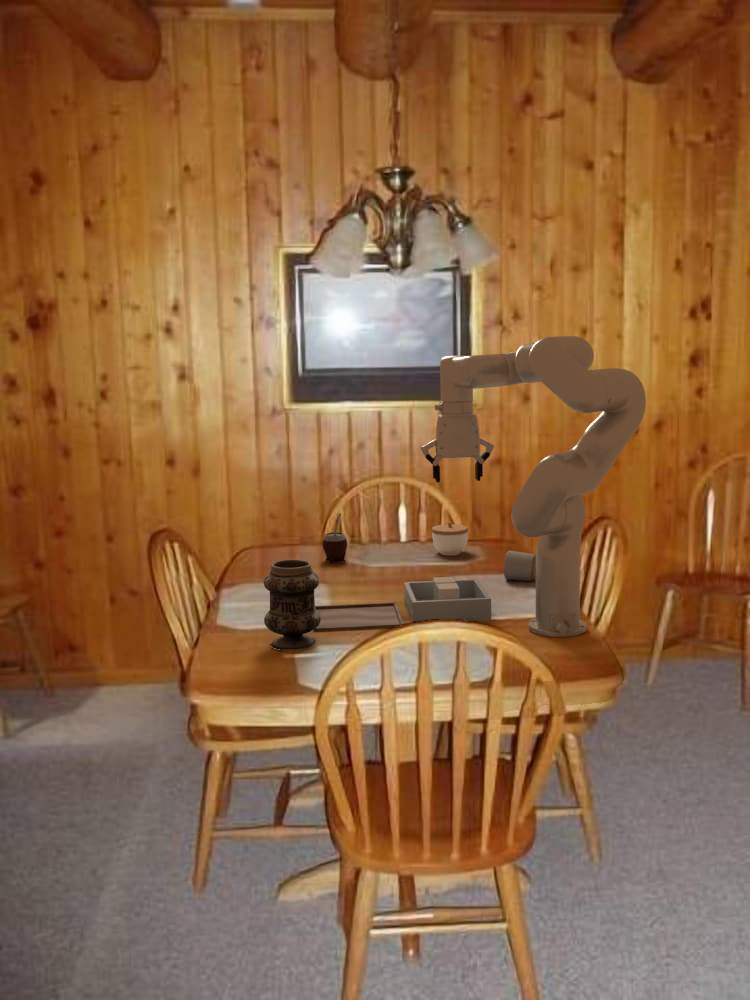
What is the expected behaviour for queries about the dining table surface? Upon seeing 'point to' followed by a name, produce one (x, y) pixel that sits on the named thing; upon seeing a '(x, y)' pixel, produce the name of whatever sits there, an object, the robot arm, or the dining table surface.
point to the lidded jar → (450, 538)
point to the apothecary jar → (292, 603)
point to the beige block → (447, 591)
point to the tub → (448, 602)
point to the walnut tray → (358, 616)
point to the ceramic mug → (520, 566)
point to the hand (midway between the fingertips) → (457, 480)
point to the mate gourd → (335, 545)
